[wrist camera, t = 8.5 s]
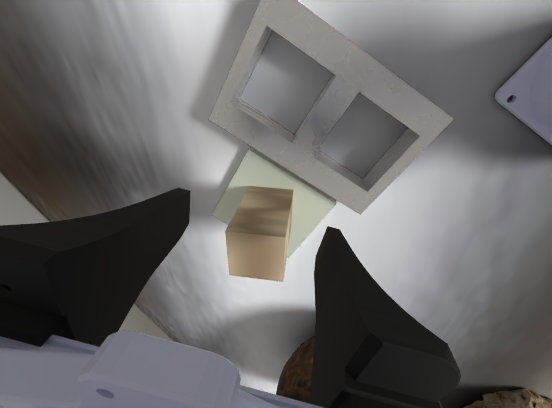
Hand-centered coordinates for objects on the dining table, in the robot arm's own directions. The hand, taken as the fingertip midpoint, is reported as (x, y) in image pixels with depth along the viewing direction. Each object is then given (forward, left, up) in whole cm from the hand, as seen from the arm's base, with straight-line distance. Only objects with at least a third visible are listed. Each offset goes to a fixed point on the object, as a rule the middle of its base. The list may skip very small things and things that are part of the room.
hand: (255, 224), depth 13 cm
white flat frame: (-1, -5, -10) cm, 11 cm away
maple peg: (-2, +4, -10) cm, 11 cm away
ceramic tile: (-2, +5, -10) cm, 11 cm away
